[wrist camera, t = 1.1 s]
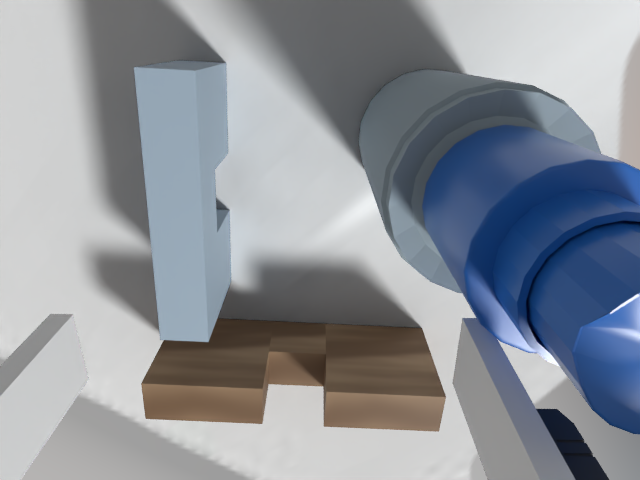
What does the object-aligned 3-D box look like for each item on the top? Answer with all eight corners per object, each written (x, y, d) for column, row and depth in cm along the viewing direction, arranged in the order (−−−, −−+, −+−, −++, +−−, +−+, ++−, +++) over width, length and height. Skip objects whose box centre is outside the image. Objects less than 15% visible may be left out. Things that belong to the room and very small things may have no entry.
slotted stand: (176, 316, 38) (141, 383, 30) (421, 328, 38) (445, 397, 31) (178, 347, 39) (145, 418, 32) (416, 358, 39) (438, 431, 32)
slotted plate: (179, 60, 30) (133, 67, 23) (226, 62, 30) (195, 70, 23) (192, 279, 37) (160, 339, 29) (231, 281, 37) (208, 342, 29)
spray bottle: (510, 88, 31) (1078, 205, 8) (461, 213, 34) (756, 559, 11) (380, 52, 30) (572, 60, 7) (343, 183, 33) (389, 488, 10)
